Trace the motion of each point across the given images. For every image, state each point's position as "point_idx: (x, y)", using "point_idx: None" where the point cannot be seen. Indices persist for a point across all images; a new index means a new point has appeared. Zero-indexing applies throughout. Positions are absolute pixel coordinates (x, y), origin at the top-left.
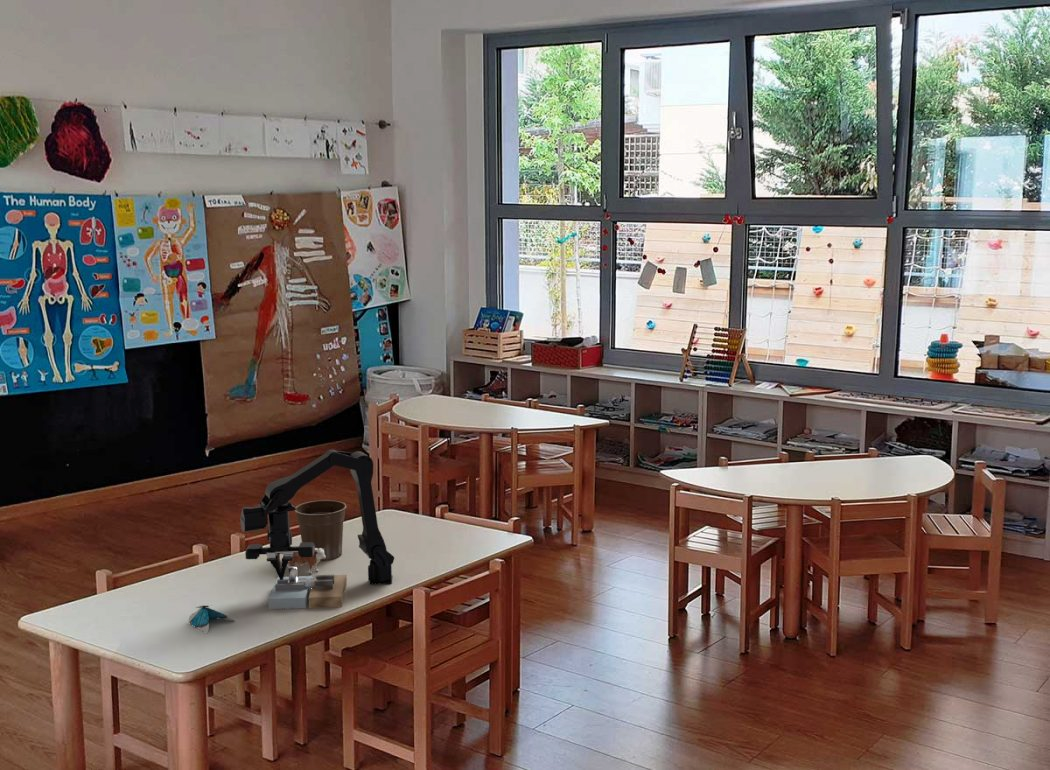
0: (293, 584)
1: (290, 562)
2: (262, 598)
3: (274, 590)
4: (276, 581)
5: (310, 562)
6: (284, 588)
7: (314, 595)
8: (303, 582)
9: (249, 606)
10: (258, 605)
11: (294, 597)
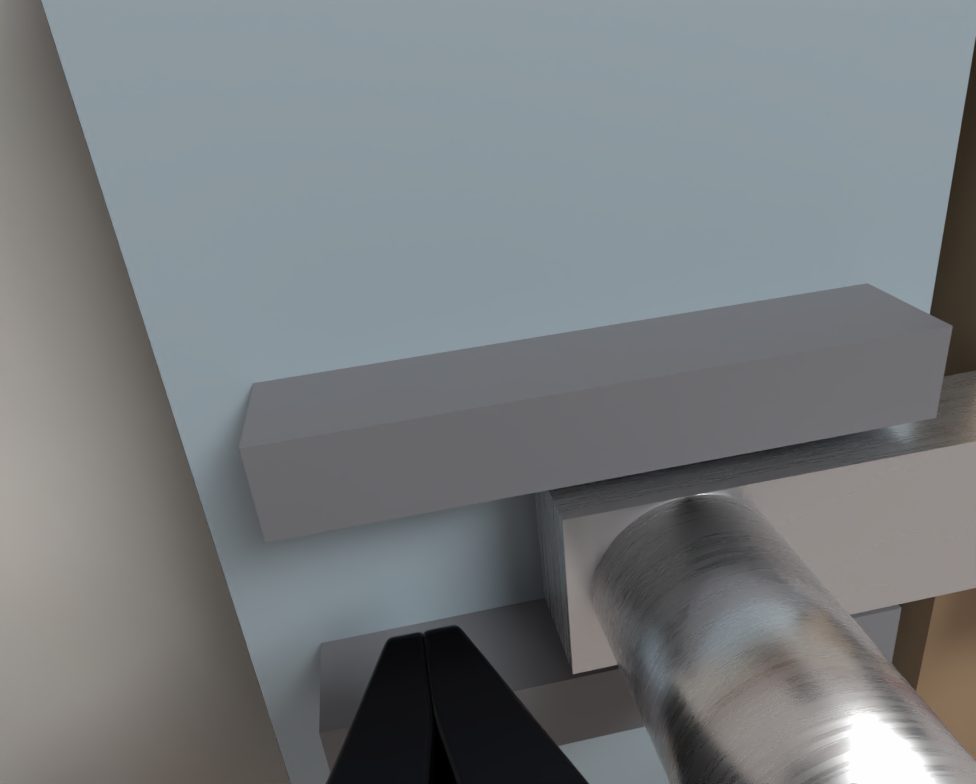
0: None
1: None
2: (57, 502)
3: (311, 688)
4: (120, 188)
5: None
6: None
7: (968, 750)
8: (890, 596)
9: (21, 780)
10: (139, 734)
11: None
